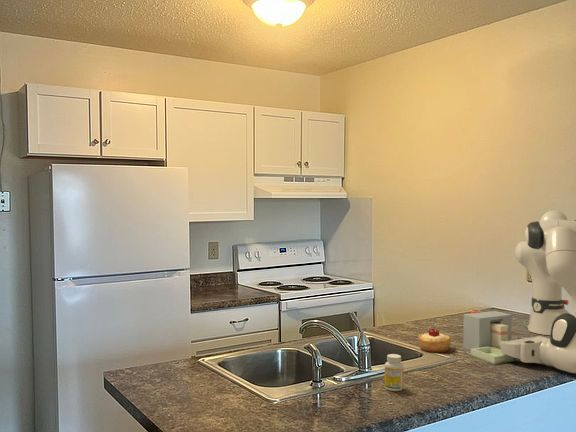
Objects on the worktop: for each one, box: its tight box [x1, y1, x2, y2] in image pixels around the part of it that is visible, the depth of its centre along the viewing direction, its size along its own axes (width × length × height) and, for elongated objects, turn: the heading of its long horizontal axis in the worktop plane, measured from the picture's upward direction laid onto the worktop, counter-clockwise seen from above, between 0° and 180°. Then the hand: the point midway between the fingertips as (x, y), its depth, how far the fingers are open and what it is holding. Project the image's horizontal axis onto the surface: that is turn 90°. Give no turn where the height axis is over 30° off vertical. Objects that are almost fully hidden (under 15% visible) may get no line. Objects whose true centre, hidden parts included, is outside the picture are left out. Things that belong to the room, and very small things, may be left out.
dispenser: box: [462, 310, 513, 351], centre depth 203 cm, size 16×8×13 cm, turn 115°
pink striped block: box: [490, 322, 508, 350], centre depth 198 cm, size 4×6×10 cm, turn 25°
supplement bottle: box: [384, 353, 404, 392], centre depth 158 cm, size 5×5×10 cm
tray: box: [470, 346, 515, 365], centre depth 189 cm, size 9×11×2 cm
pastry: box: [417, 325, 452, 353], centre depth 201 cm, size 12×12×9 cm
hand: (509, 340), depth 193 cm, fingers open, 8 cm apart
